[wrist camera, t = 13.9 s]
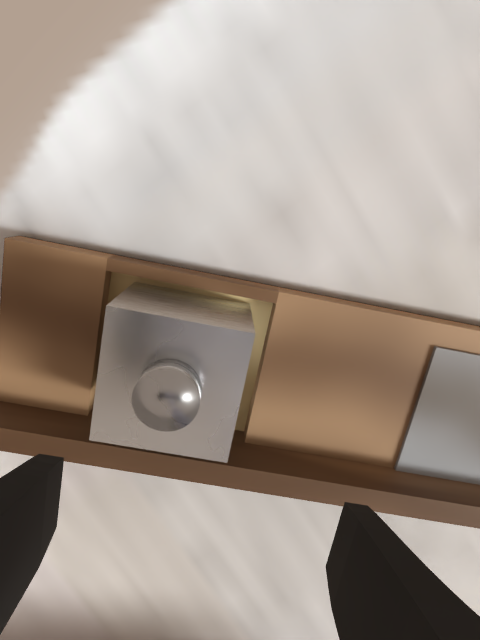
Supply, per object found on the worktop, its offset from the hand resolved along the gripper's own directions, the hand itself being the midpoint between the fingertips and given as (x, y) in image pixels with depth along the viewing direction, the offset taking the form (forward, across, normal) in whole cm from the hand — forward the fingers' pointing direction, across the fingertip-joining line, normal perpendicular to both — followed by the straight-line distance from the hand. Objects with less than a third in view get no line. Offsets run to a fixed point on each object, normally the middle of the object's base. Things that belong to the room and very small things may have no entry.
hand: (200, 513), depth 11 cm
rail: (+9, -3, 0) cm, 10 cm away
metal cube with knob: (+9, +2, -1) cm, 9 cm away
